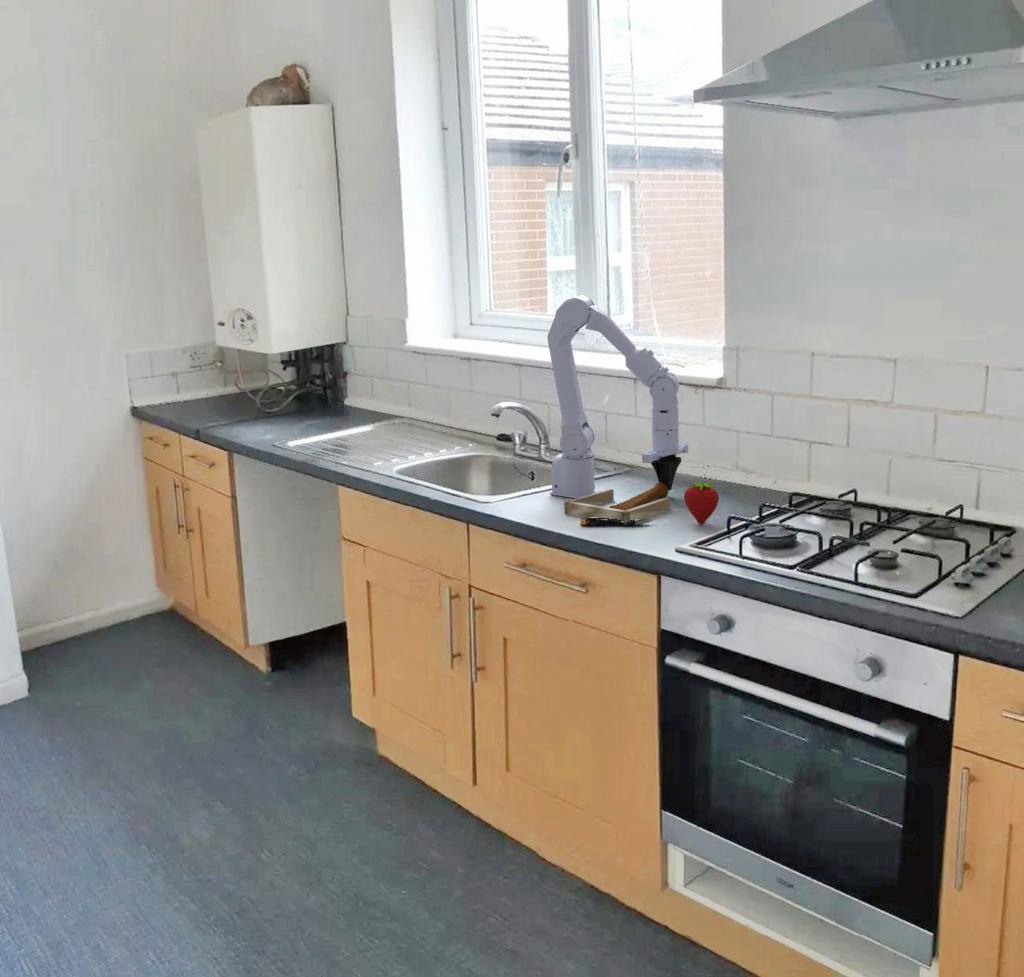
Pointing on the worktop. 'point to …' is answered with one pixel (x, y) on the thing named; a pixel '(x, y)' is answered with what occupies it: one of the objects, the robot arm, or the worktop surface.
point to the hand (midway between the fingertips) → (666, 489)
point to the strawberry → (701, 500)
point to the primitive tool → (643, 497)
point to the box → (589, 508)
